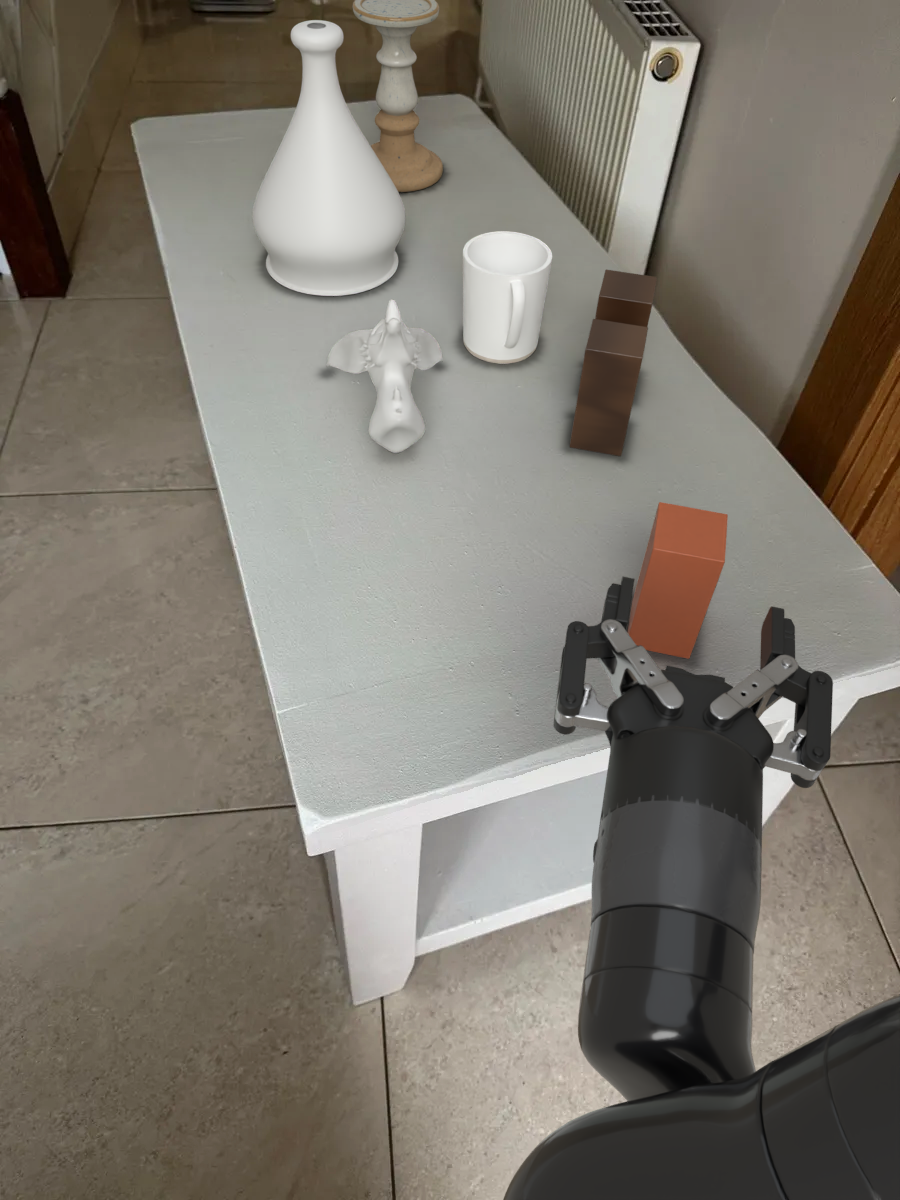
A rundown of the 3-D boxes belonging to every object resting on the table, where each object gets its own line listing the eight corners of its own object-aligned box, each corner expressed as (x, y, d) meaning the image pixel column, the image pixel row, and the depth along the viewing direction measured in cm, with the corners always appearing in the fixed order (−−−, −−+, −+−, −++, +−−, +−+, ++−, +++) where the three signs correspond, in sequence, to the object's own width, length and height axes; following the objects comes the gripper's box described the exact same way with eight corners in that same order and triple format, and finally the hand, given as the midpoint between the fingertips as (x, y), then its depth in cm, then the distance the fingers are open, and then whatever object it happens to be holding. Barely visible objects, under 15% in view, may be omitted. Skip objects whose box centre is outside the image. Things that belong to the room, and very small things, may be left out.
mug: (452, 322, 103) (455, 233, 95) (531, 317, 104) (541, 229, 96) (470, 381, 96) (475, 290, 88) (554, 375, 97) (567, 285, 89)
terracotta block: (693, 612, 76) (728, 513, 68) (689, 659, 73) (725, 562, 64) (632, 600, 76) (659, 501, 68) (625, 646, 73) (652, 548, 65)
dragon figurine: (327, 389, 75) (317, 252, 79) (336, 488, 92) (327, 371, 96) (473, 381, 76) (455, 248, 80) (455, 480, 93) (441, 365, 97)
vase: (286, 314, 103) (259, 67, 84) (239, 241, 113) (205, 7, 94) (429, 282, 108) (433, 43, 89) (372, 215, 118) (364, -11, 100)
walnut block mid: (626, 425, 92) (648, 326, 83) (621, 456, 88) (642, 357, 80) (576, 416, 92) (593, 318, 84) (569, 447, 89) (585, 348, 81)
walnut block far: (636, 373, 98) (657, 276, 89) (631, 401, 94) (652, 303, 86) (589, 365, 98) (605, 268, 90) (582, 392, 95) (598, 295, 87)
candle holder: (352, 152, 130) (345, -14, 115) (440, 153, 131) (444, -12, 116) (351, 193, 122) (343, 20, 107) (445, 193, 123) (450, 22, 108)
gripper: (862, 848, 40) (845, 581, 51) (537, 774, 42) (587, 531, 52) (806, 918, 46) (801, 665, 56) (521, 851, 48) (569, 618, 58)
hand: (698, 601), depth 54 cm, fingers open, 8 cm apart
